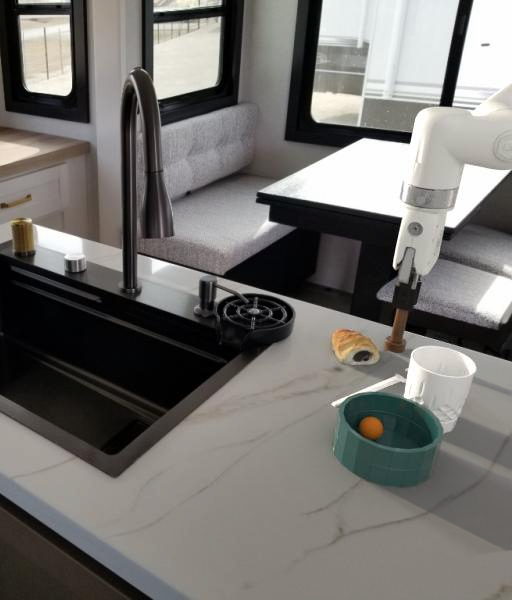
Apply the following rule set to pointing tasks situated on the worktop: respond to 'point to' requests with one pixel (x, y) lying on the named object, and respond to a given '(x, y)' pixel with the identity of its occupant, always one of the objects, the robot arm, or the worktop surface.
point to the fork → (376, 387)
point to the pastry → (354, 348)
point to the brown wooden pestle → (397, 333)
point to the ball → (371, 428)
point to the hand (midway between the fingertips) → (403, 305)
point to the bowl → (388, 439)
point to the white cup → (440, 382)
